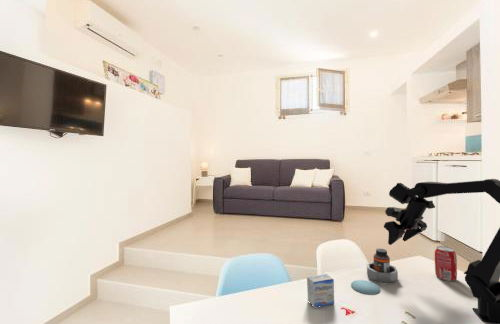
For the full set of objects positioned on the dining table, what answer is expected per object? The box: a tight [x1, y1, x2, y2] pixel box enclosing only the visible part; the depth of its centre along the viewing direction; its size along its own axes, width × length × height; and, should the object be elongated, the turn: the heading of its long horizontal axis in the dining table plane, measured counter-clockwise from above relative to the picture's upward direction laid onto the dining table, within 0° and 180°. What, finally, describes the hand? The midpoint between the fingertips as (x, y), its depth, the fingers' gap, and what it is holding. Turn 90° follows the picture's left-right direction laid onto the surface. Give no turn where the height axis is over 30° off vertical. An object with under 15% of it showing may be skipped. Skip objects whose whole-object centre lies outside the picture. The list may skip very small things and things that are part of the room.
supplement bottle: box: [373, 248, 391, 273], centre depth 103 cm, size 6×6×11 cm
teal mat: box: [350, 279, 381, 295], centre depth 95 cm, size 10×10×1 cm
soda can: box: [434, 245, 458, 282], centre depth 101 cm, size 7×7×12 cm
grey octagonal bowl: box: [366, 261, 399, 285], centre depth 103 cm, size 11×11×4 cm
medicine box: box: [306, 274, 335, 308], centre depth 86 cm, size 8×4×9 cm, turn 105°
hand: (396, 242), depth 102 cm, fingers open, 9 cm apart
